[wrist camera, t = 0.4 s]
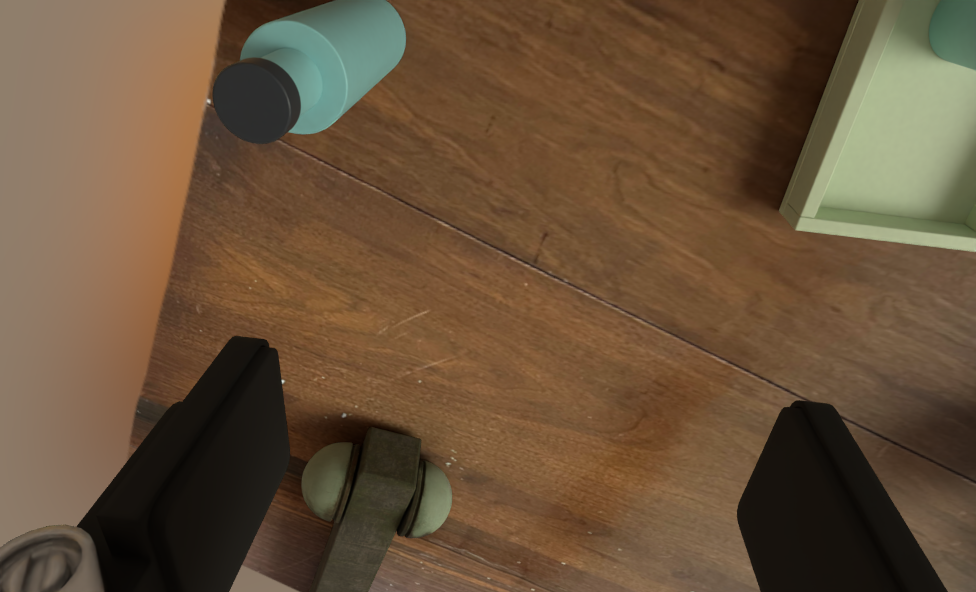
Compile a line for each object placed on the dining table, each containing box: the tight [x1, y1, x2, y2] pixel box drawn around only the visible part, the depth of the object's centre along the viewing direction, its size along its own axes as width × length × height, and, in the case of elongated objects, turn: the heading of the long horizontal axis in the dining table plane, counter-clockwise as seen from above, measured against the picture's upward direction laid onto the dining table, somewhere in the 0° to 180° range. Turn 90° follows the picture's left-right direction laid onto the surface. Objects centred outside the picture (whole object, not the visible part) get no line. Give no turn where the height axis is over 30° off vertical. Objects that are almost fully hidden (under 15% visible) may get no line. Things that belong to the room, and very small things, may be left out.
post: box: [302, 427, 452, 592], centre depth 51 cm, size 11×6×30 cm
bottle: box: [213, 0, 406, 144], centre depth 25 cm, size 4×4×15 cm
